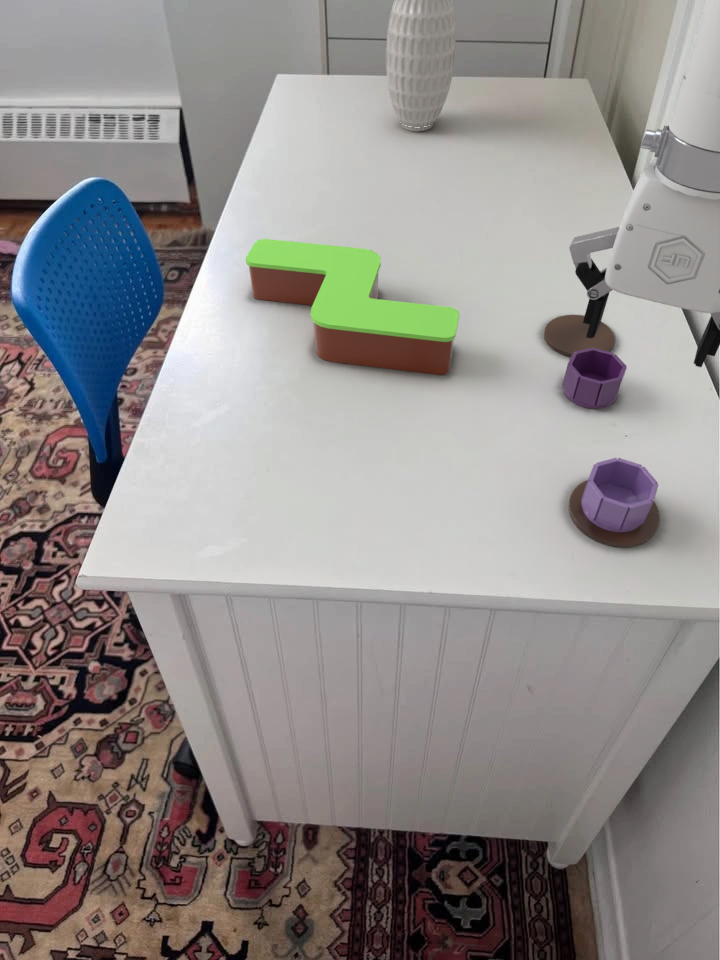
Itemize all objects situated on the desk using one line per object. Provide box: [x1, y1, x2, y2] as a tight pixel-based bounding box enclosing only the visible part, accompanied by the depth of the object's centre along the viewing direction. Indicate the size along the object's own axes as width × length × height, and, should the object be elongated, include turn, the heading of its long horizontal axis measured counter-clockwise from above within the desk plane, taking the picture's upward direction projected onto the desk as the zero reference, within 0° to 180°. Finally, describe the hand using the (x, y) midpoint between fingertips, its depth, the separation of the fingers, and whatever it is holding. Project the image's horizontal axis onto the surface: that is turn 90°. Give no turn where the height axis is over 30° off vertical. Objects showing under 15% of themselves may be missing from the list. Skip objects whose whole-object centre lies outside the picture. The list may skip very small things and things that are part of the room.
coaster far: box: [543, 314, 616, 358], centre depth 94 cm, size 9×9×1 cm
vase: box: [385, 0, 457, 132], centre depth 132 cm, size 13×13×28 cm
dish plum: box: [561, 348, 628, 410], centre depth 86 cm, size 6×6×4 cm
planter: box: [245, 238, 460, 376], centre depth 95 cm, size 30×18×6 cm, turn 78°
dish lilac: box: [581, 457, 659, 532], centre depth 72 cm, size 6×6×4 cm
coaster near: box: [568, 479, 660, 548], centre depth 74 cm, size 9×9×1 cm
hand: (645, 343), depth 66 cm, fingers open, 9 cm apart
